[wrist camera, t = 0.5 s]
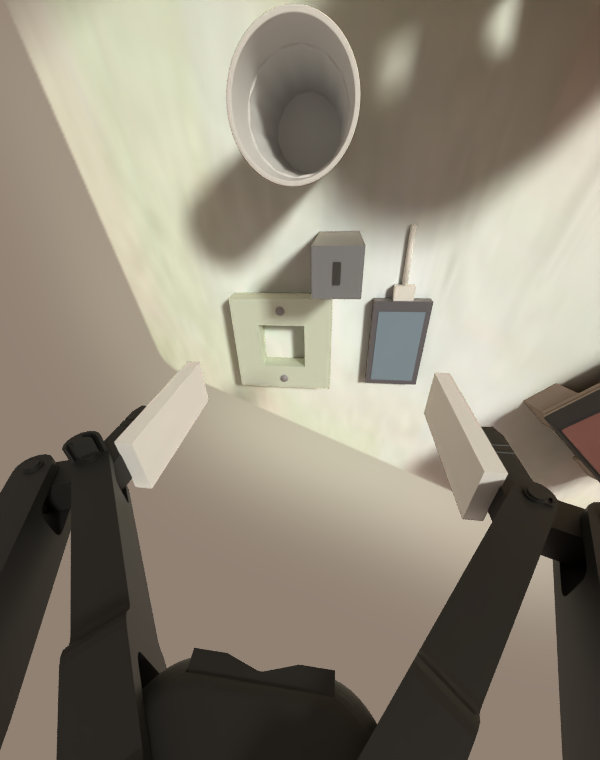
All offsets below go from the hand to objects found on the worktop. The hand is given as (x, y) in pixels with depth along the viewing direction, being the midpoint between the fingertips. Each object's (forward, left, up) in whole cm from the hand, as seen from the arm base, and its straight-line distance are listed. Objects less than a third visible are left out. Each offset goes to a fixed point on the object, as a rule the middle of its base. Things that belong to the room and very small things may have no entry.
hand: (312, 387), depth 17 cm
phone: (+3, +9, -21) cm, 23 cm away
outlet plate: (+7, -5, -21) cm, 23 cm away
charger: (-4, +1, -21) cm, 22 cm away
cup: (-14, -2, -21) cm, 26 cm away
